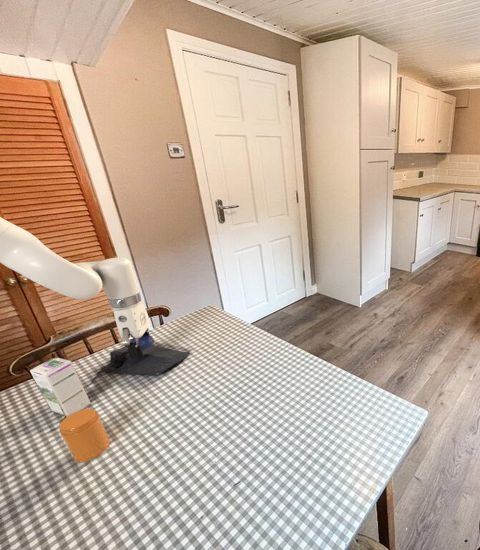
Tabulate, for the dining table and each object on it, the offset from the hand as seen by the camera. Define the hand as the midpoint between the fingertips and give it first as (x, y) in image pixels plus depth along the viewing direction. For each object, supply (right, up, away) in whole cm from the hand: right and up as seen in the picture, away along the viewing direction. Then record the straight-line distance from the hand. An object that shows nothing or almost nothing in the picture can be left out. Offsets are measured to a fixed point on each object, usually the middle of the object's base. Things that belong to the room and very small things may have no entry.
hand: (141, 349), depth 95 cm
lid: (0, +3, -1) cm, 3 cm away
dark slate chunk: (0, -5, +3) cm, 6 cm away
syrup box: (-8, -12, -15) cm, 21 cm away
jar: (+8, -17, -26) cm, 32 cm away
